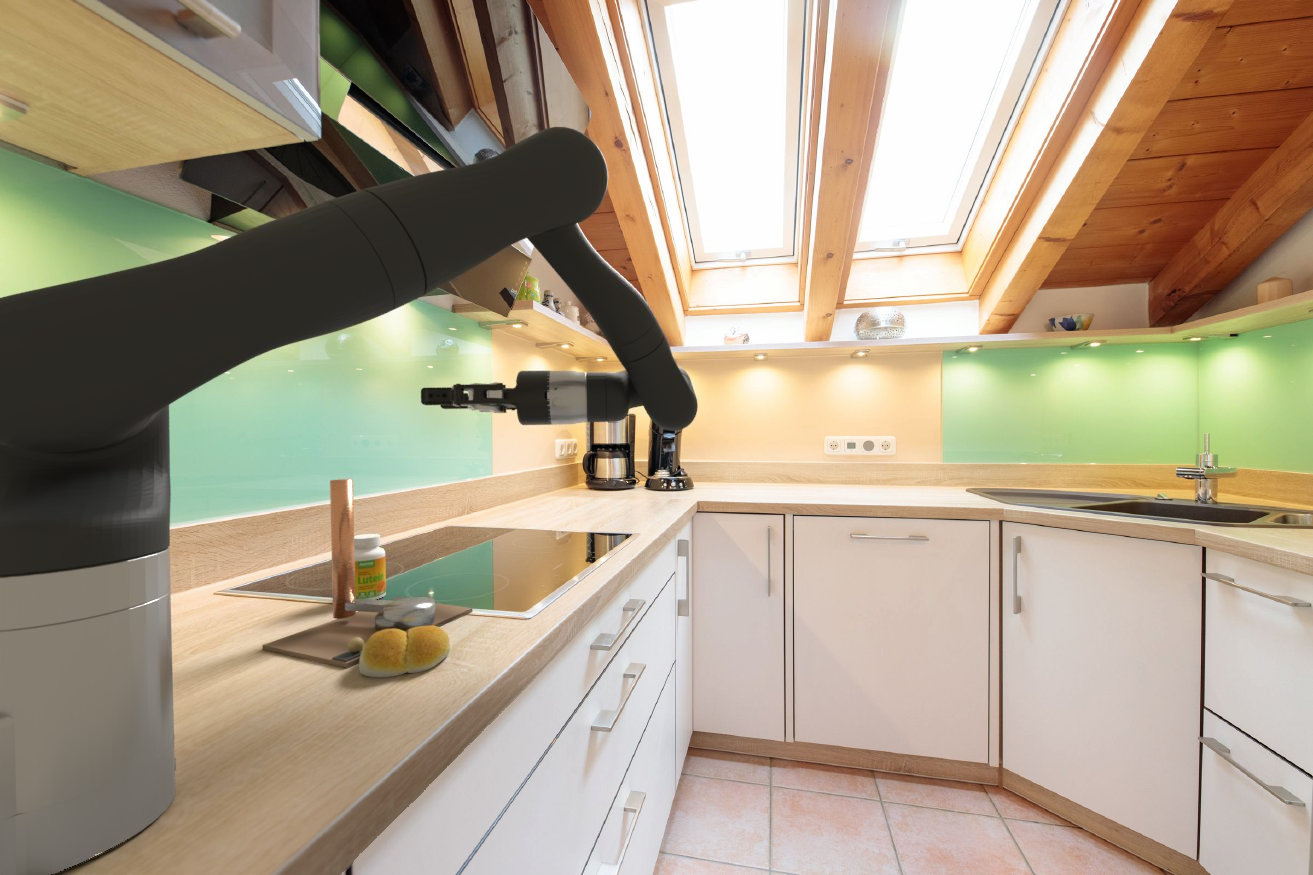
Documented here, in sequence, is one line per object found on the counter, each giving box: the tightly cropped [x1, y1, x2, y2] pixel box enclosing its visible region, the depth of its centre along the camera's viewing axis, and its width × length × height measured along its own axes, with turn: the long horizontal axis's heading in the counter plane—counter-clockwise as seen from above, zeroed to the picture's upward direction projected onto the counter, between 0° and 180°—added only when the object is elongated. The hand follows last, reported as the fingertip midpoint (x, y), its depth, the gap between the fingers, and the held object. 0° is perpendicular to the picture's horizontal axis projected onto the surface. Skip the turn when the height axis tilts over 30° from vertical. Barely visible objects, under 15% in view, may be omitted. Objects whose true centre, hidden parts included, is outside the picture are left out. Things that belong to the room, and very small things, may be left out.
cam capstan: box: [329, 478, 436, 631], centre depth 67 cm, size 14×6×18 cm, turn 77°
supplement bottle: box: [354, 533, 387, 600], centre depth 81 cm, size 5×5×10 cm
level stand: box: [261, 597, 473, 669], centre depth 67 cm, size 19×14×2 cm
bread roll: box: [358, 625, 451, 679], centre depth 58 cm, size 8×9×4 cm
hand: (431, 399), depth 70 cm, fingers open, 8 cm apart
